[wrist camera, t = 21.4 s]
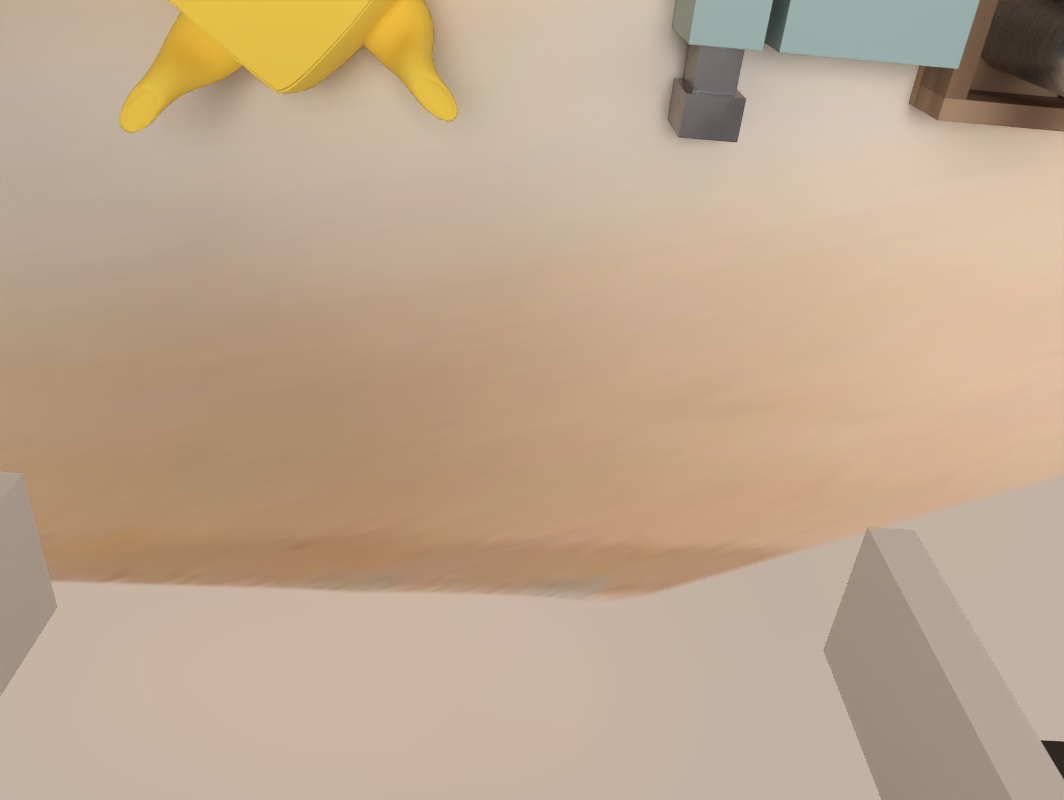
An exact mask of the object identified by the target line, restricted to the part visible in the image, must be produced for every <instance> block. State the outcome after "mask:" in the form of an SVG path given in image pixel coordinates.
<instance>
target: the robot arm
mask: <svg viewBox="0 0 1064 800" xmlns="http://www.w3.org/2000/svg"><path fill="white" fill-rule="evenodd" d="M56 608H57V604H56V600H55V596H54V592H53V589H52V585H51V581H50V577H49V573H48V569H47V565H46V561H45V557H44V553H43V549H42V546H41V542H40V538H39V534H38V530H37V526H36V522H35V518H34V514H33V511H32V507H31V503H30V499H29V495H28V491H27V487H26V483H25V479H24V475H23V473H11V472H0V696H1V694H2V693H3V691H4V690H5V688H6V687H7V685H8V683H9V682H10V680H11V679H12V677H13V675H14V674H15V672H16V671H17V669H18V668H19V666H20V664H21V663H22V661H23V660H24V658H25V657H26V655H27V653H28V652H29V651H30V649H31V647H32V646H33V644H34V643H35V641H36V639H37V638H38V636H39V635H40V633H41V632H42V630H43V629H44V627H45V625H46V624H47V622H48V621H49V619H50V618H51V616H52V615H53V613H54V611H55V610H56ZM824 653H825V655H826V658H827V660H828V663H829V666H830V668H831V670H832V673H833V676H834V678H835V681H836V684H837V686H838V689H839V691H840V694H841V697H842V699H843V702H844V704H845V706H846V709H847V712H848V714H849V717H850V720H851V722H852V725H853V727H854V730H855V732H856V735H857V738H858V740H859V743H860V745H861V748H862V751H863V753H864V756H865V758H866V761H867V764H868V766H869V769H870V771H871V774H872V776H873V779H874V781H875V784H876V787H877V789H878V792H879V794H880V797H881V800H1064V742H1061V741H1042V740H1040V739H1039V737H1038V736H1037V734H1036V732H1035V731H1034V729H1033V727H1032V726H1031V724H1030V723H1029V721H1028V719H1027V718H1026V716H1025V714H1024V712H1023V711H1022V709H1021V707H1020V706H1019V704H1018V703H1017V701H1016V699H1015V697H1014V696H1013V694H1012V692H1011V691H1010V689H1009V687H1008V686H1007V684H1006V682H1005V681H1004V679H1003V677H1002V676H1001V674H1000V672H999V671H998V669H997V667H996V666H995V664H994V662H993V661H992V659H991V657H990V656H989V654H988V652H987V651H986V649H985V647H984V646H983V644H982V642H981V641H980V639H979V637H978V635H977V634H976V632H975V631H974V629H973V627H972V626H971V624H970V622H969V620H968V619H967V618H966V616H965V614H964V612H963V611H962V609H961V607H960V605H959V604H958V602H957V601H956V599H955V597H954V596H953V594H952V592H951V591H950V589H949V587H948V585H947V584H946V582H945V580H944V579H943V577H942V575H941V574H940V572H939V570H938V569H937V567H936V565H935V564H934V562H933V561H932V559H931V557H930V555H929V554H928V552H927V550H926V549H925V547H924V545H923V544H922V542H921V541H920V539H919V537H918V535H917V534H916V532H915V531H914V530H904V529H888V528H872V527H868V528H867V530H866V533H865V536H864V539H863V542H862V544H861V547H860V550H859V553H858V556H857V558H856V561H855V564H854V567H853V569H852V572H851V575H850V578H849V581H848V583H847V586H846V589H845V592H844V594H843V597H842V600H841V603H840V606H839V608H838V611H837V614H836V617H835V620H834V622H833V625H832V628H831V631H830V633H829V636H828V639H827V642H826V645H825V648H824Z"/></svg>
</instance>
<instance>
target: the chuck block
mask: <svg viewBox="0 0 1064 800" xmlns="http://www.w3.org/2000/svg"><path fill="white" fill-rule="evenodd" d="M979 1H980V0H676V4H675V10H674V17H673V23H672V28H673V29H674V30H675V31H676V32H677V33H678V34H679V35H680V36H681V37H682V38H683V39H684V40H685V41H686V42H687V43H688V44H693V45H704V46H714V47H725V48H736V49H747V50H758V51H763V46H764V42H765V43H766V44H768V45H769V46H771V47H772V48H774V49H775V50H777V51H778V52H780V53H791V54H801V55H812V56H823V57H834V58H845V59H856V60H867V61H878V62H888V63H899V64H910V65H921V66H932V67H943V68H954V69H958V67H959V64H960V61H961V58H962V55H963V52H964V48H965V45H966V42H967V39H968V36H969V33H970V30H971V26H972V23H973V20H974V17H975V14H976V11H977V8H978V4H979Z"/></svg>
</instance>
